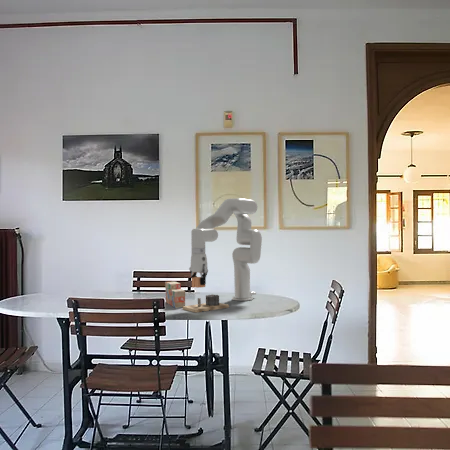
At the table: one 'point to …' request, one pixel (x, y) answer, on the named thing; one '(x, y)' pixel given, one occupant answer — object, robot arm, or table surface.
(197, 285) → the loose gear
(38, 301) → the table surface
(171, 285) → the stack of blocks
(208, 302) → the gear board
